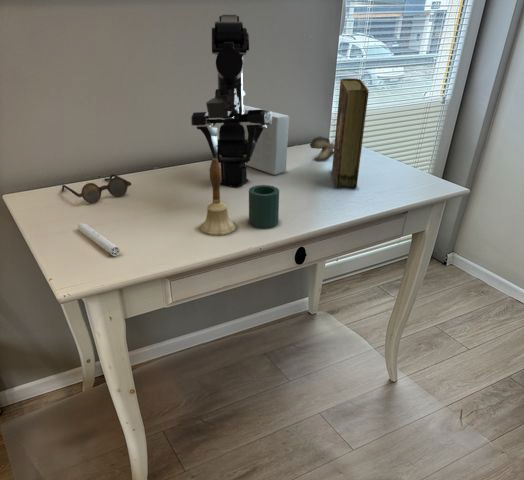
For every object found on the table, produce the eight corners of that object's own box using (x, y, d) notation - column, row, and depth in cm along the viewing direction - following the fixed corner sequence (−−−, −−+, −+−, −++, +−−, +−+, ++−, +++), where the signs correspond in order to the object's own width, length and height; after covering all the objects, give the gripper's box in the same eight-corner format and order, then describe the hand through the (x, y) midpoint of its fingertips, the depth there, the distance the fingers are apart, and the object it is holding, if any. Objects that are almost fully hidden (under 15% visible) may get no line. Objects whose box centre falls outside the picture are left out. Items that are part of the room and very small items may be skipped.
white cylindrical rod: (75, 230, 115) (73, 220, 114) (84, 227, 117) (81, 218, 115) (111, 257, 105) (109, 247, 103) (120, 254, 106) (118, 244, 104)
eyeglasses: (81, 206, 127) (76, 187, 124) (58, 190, 136) (54, 172, 133) (132, 194, 134) (130, 175, 131) (108, 179, 143) (105, 161, 140)
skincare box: (287, 172, 150) (290, 115, 140) (274, 175, 147) (276, 118, 137) (241, 156, 162) (240, 103, 152) (228, 159, 159) (227, 105, 149)
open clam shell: (316, 147, 166) (304, 149, 159) (330, 130, 162) (317, 130, 155) (331, 164, 165) (319, 166, 158) (345, 147, 161) (334, 148, 154)
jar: (243, 224, 119) (243, 192, 114) (258, 215, 123) (258, 183, 118) (269, 231, 116) (269, 197, 111) (283, 220, 121) (284, 188, 116)
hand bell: (194, 226, 118) (188, 157, 108) (223, 218, 122) (221, 151, 112) (212, 238, 112) (208, 167, 103) (242, 230, 116) (241, 160, 106)
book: (331, 170, 151) (340, 78, 136) (349, 170, 151) (360, 78, 136) (336, 189, 138) (346, 89, 123) (356, 189, 138) (369, 90, 123)
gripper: (177, 83, 110) (181, 158, 116) (254, 77, 104) (255, 157, 109) (200, 89, 120) (204, 158, 125) (272, 84, 113) (272, 157, 119)
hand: (232, 157), depth 120 cm, fingers open, 9 cm apart
